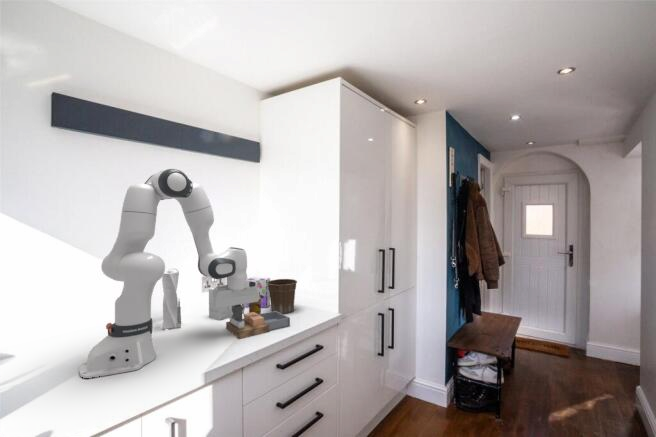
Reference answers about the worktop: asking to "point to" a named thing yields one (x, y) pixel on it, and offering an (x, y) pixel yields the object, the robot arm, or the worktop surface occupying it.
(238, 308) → the scraper
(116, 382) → the worktop surface
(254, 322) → the tile
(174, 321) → the skyscraper
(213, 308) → the supplement box
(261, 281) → the candy box
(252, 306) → the condiment
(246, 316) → the tile
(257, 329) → the board
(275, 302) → the plant pot
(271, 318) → the tray
